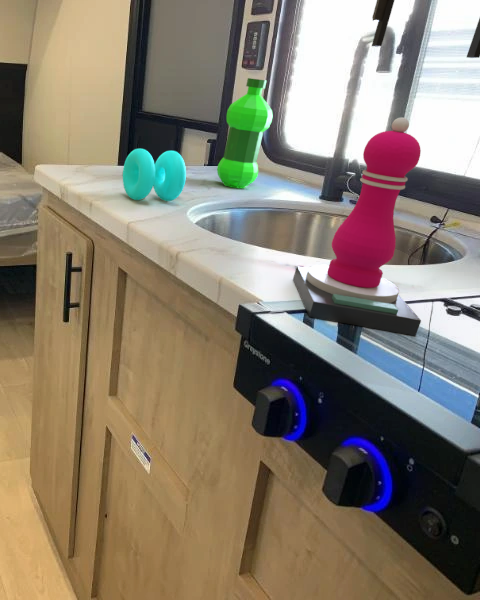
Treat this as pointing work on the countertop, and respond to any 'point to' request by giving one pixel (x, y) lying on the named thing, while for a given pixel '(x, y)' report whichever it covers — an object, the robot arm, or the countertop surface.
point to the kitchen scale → (354, 302)
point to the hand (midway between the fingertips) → (423, 52)
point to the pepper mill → (374, 209)
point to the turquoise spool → (154, 175)
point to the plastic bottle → (245, 136)
